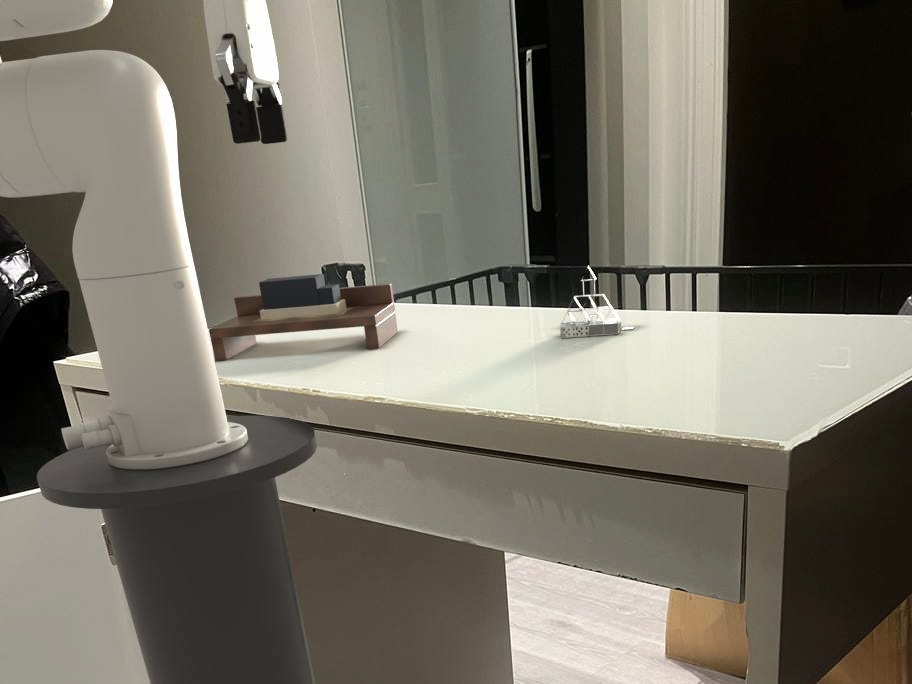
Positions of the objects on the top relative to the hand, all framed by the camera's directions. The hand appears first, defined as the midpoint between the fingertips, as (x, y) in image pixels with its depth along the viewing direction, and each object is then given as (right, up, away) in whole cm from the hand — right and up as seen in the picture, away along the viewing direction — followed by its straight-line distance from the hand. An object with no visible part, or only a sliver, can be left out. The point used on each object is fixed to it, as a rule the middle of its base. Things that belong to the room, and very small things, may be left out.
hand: (261, 142), depth 113 cm
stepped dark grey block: (+3, -16, +13) cm, 21 cm away
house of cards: (+40, -21, +5) cm, 46 cm away
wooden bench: (+3, -19, +15) cm, 25 cm away
